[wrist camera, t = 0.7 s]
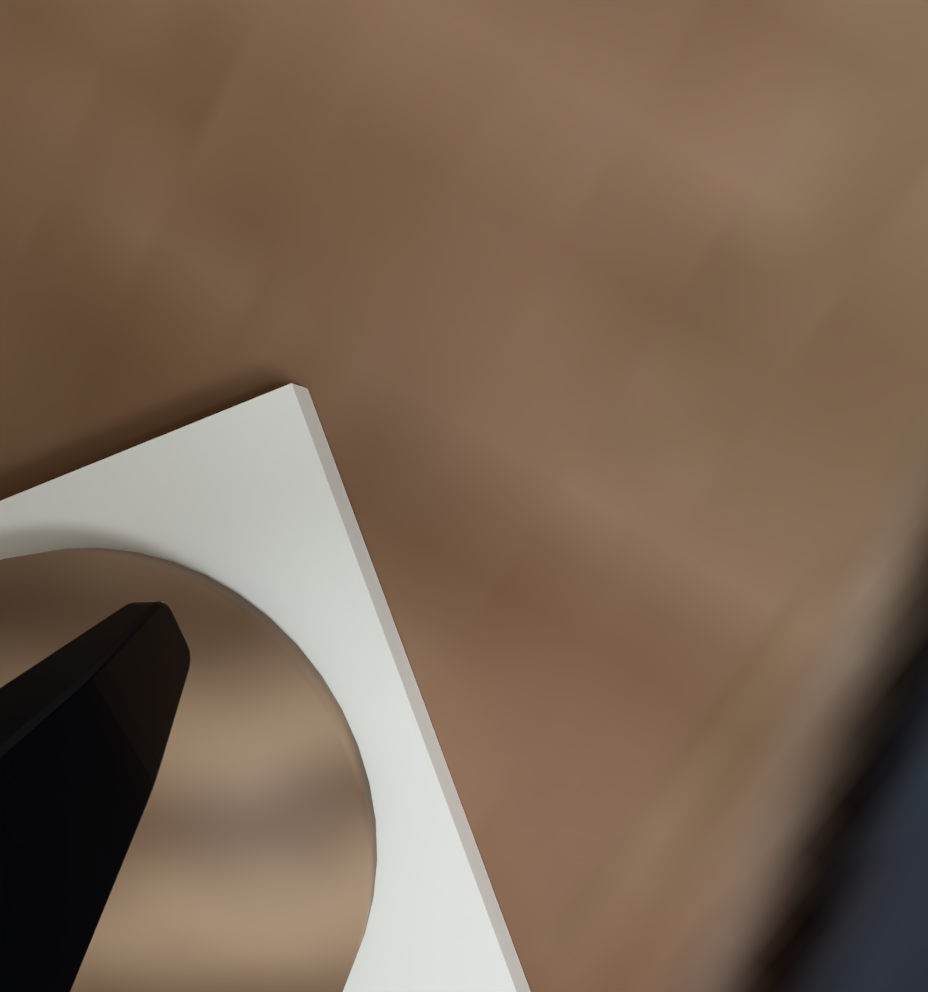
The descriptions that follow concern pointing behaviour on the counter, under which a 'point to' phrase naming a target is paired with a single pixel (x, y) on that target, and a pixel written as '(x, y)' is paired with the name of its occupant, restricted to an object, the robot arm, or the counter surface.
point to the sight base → (305, 652)
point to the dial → (217, 791)
